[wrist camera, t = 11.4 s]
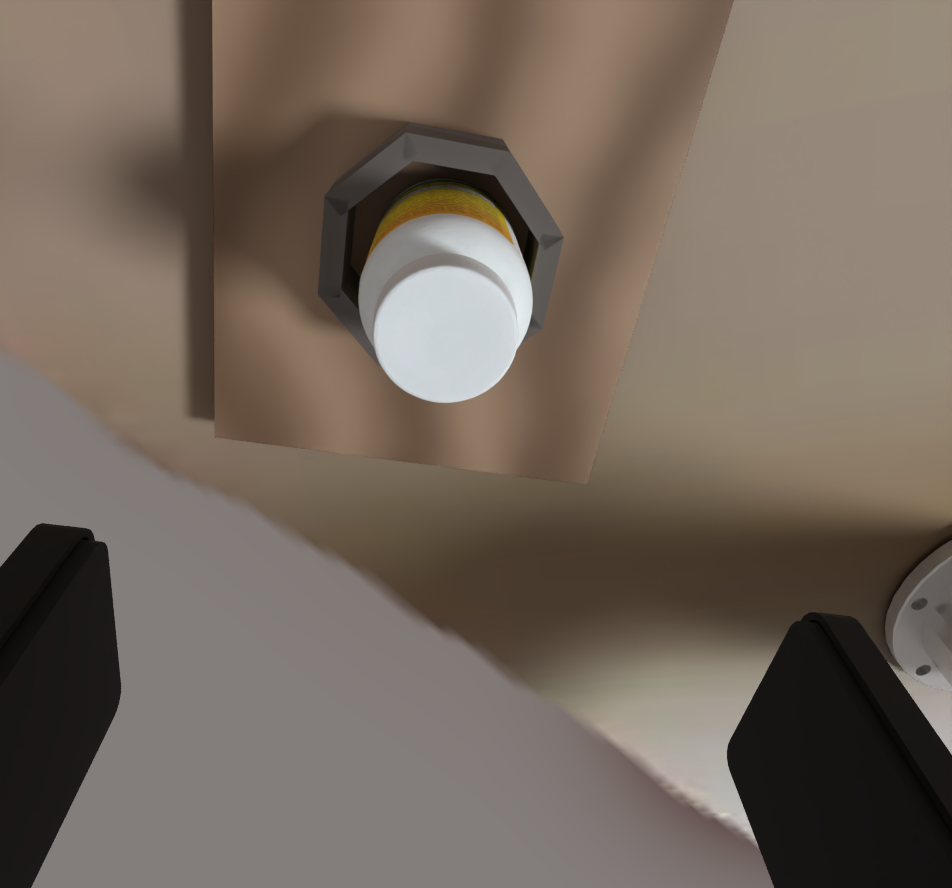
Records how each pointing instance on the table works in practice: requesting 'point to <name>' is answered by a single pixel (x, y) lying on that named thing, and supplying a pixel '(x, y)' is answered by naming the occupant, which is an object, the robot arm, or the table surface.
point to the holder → (433, 157)
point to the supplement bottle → (445, 291)
